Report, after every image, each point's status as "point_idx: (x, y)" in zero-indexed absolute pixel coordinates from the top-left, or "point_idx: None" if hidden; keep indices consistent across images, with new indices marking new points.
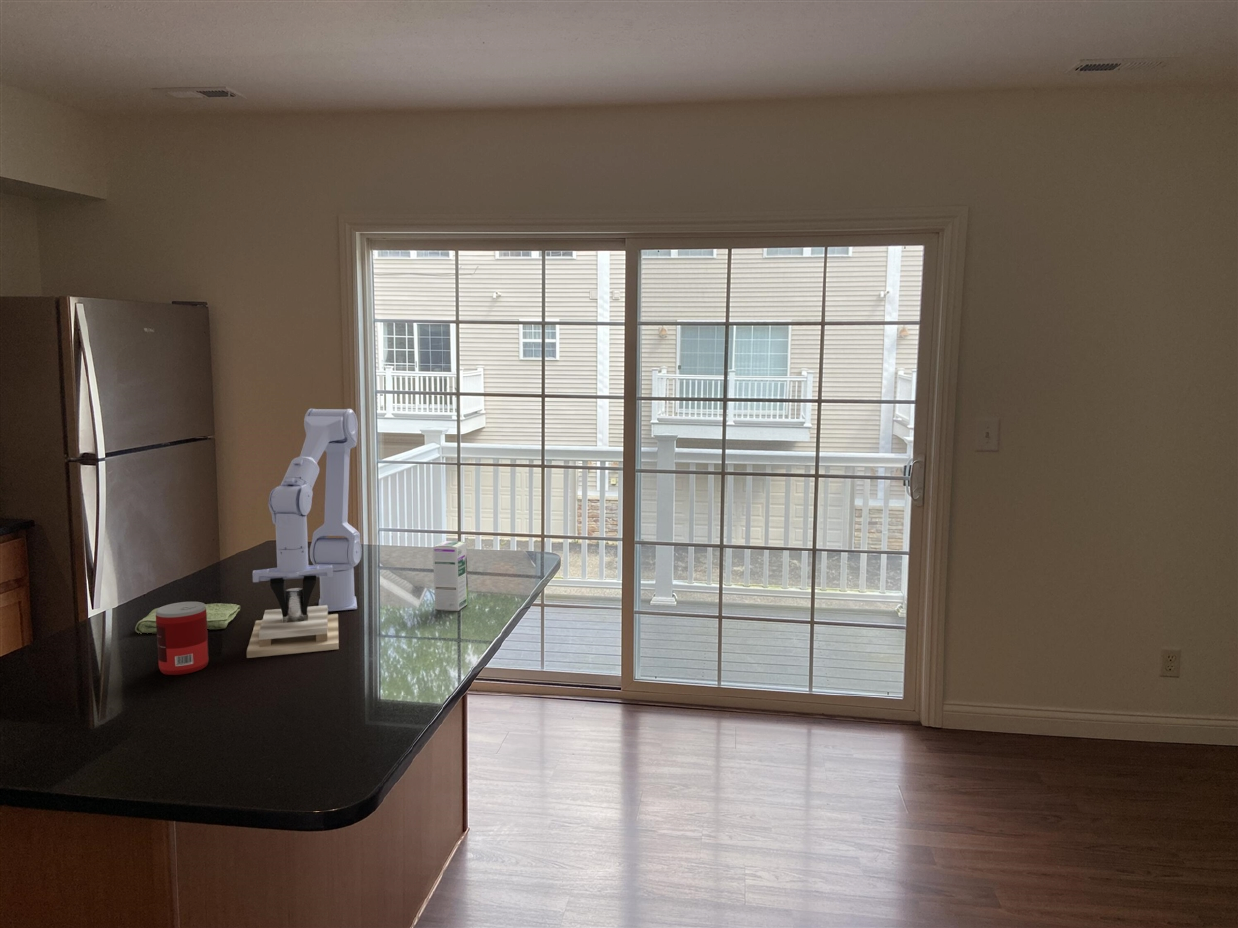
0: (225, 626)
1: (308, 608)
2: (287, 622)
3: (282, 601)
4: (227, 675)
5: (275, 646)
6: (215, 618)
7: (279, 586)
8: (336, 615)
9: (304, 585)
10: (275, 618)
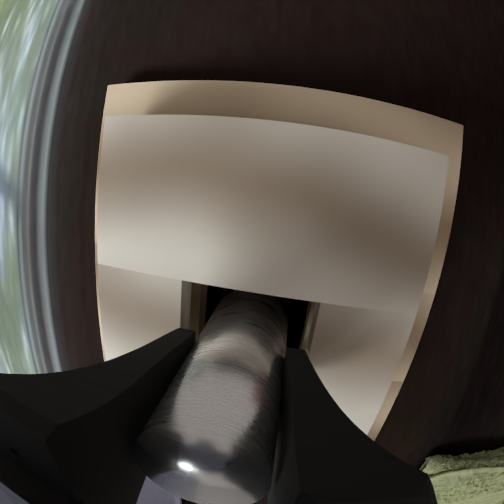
0: (431, 457)
1: None
2: (283, 333)
3: (308, 398)
4: (479, 6)
5: (357, 131)
6: (447, 479)
7: (351, 488)
8: None
9: (58, 410)
10: (332, 389)
